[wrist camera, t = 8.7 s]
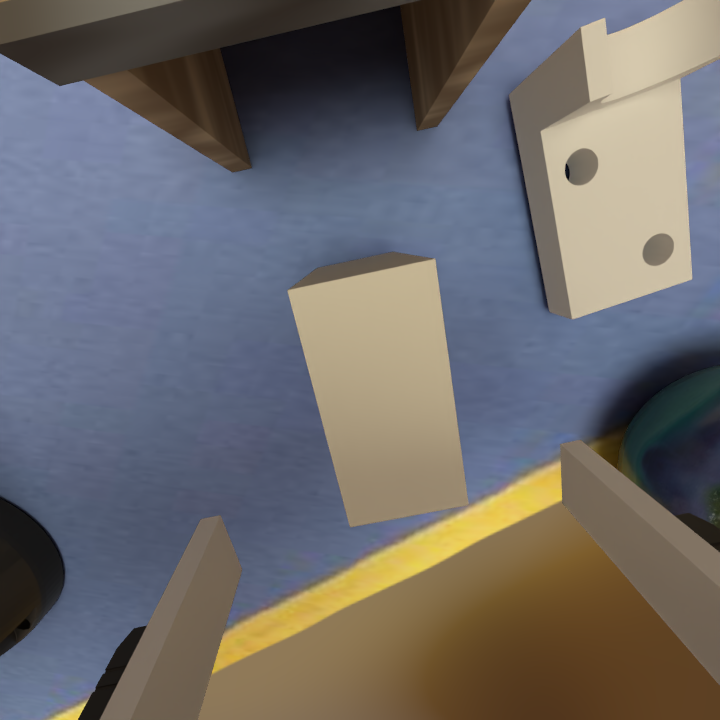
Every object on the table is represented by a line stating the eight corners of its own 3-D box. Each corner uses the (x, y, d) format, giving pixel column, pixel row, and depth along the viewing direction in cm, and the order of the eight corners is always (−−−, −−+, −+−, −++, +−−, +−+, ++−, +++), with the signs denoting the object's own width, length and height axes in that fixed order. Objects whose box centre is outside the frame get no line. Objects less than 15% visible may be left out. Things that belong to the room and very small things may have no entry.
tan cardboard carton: (348, 405, 27) (348, 527, 15) (316, 268, 24) (285, 290, 12) (417, 391, 26) (469, 504, 15) (393, 251, 23) (436, 258, 12)
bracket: (501, 101, 21) (580, 27, 14) (623, 54, 21) (769, -48, 13) (542, 309, 25) (619, 335, 18) (645, 274, 24) (768, 287, 17)
